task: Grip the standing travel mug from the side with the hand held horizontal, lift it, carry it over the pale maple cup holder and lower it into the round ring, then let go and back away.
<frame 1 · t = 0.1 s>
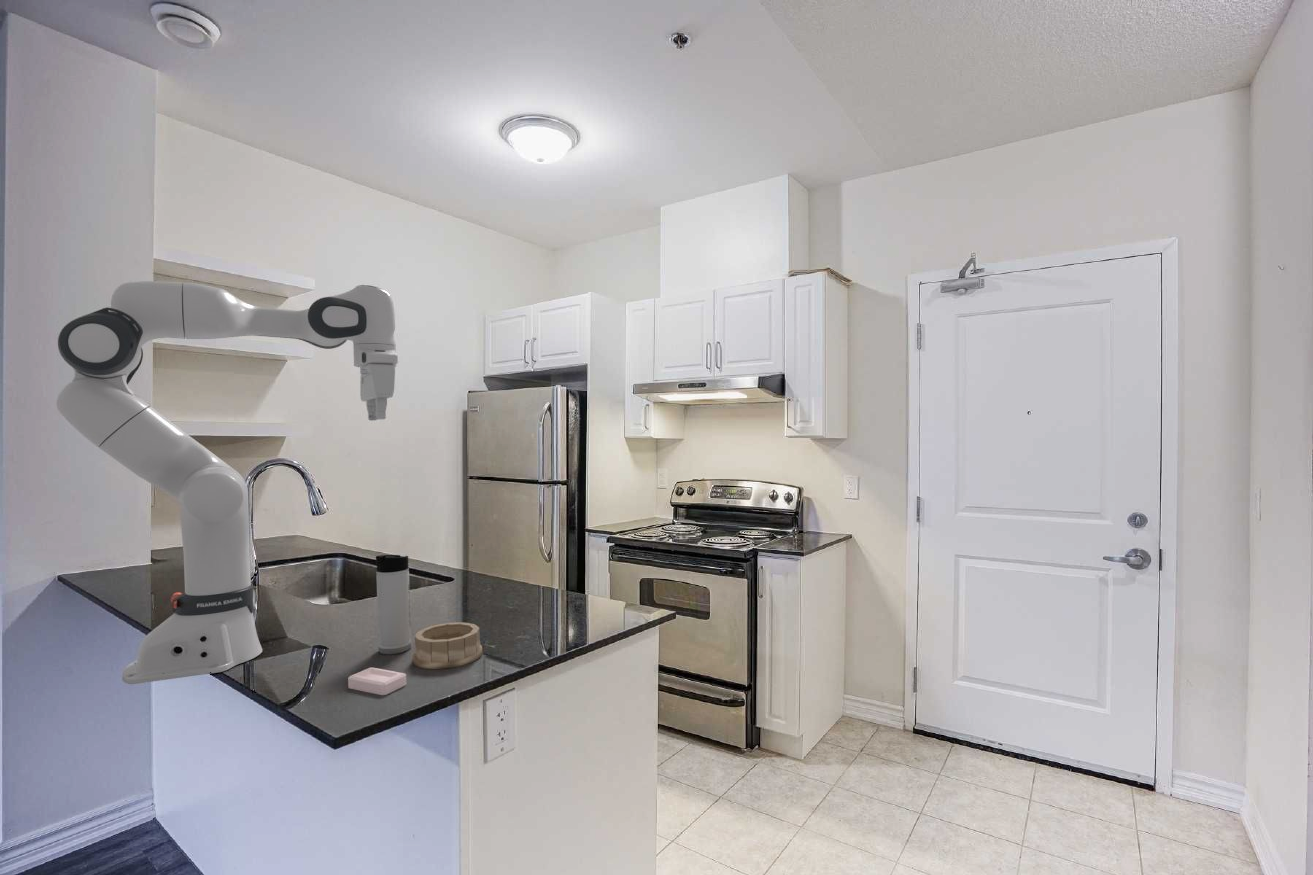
hand: (376, 420, 147), 48 cm above the countertop, tool pointing down, fingers open, 8 cm apart
cup holder: (448, 656, 129), on the countertop
travel mug: (394, 650, 134), on the countertop
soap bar: (377, 688, 115), on the countertop
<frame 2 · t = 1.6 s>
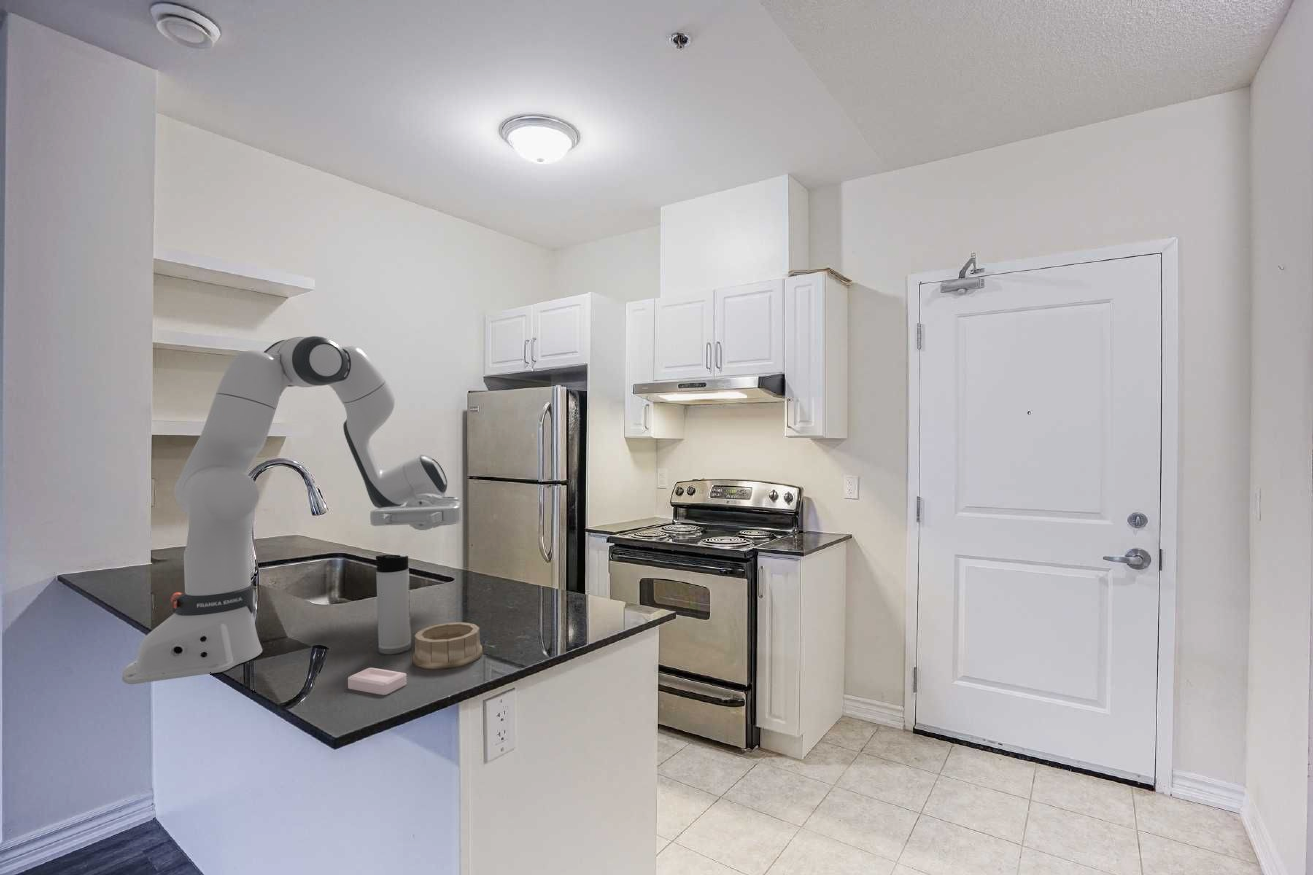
hand: (407, 520, 145), 25 cm above the countertop, tool horizontal, fingers open, 8 cm apart
nothing on the countertop moved.
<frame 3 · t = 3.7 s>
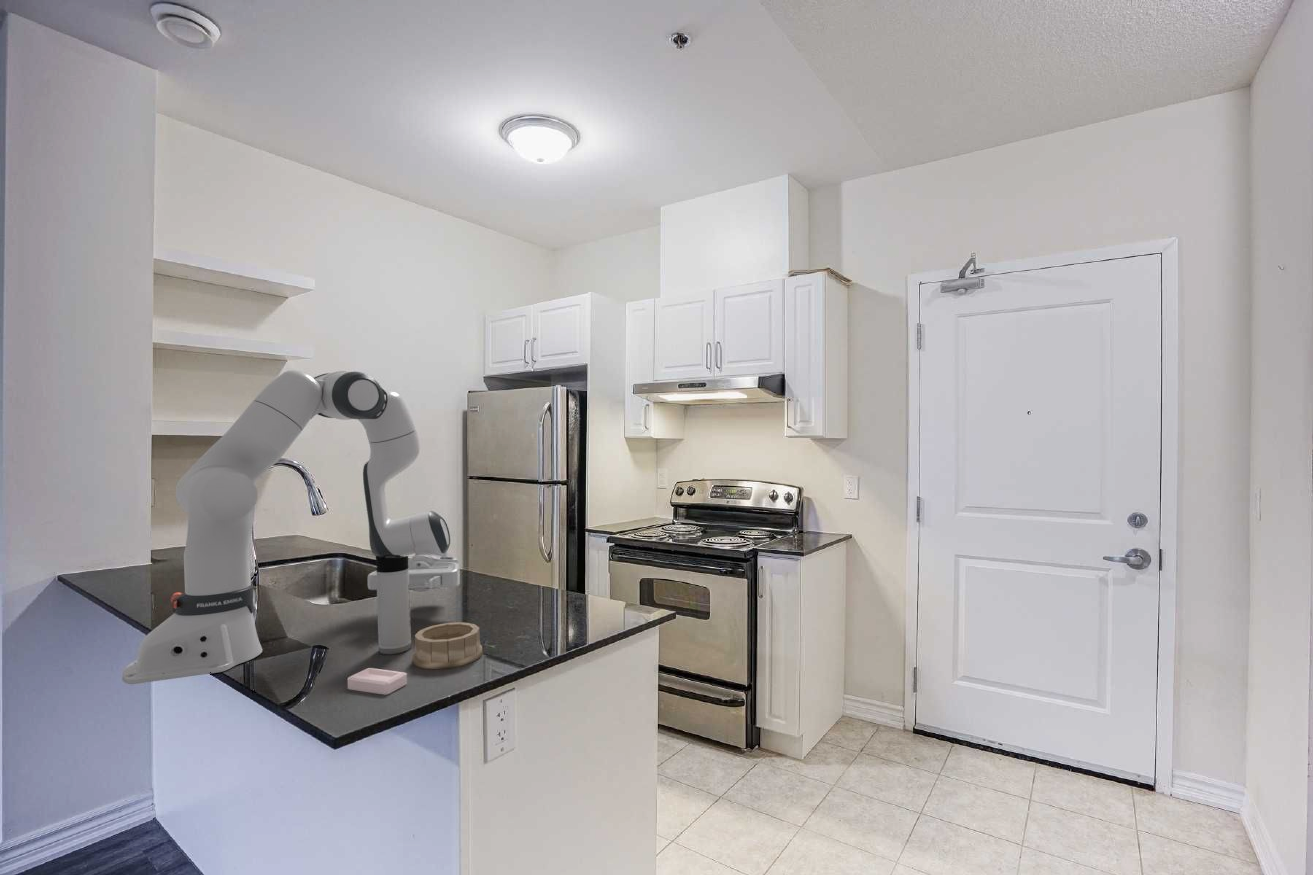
hand: (405, 585, 143), 11 cm above the countertop, tool horizontal, fingers open, 8 cm apart
nothing on the countertop moved.
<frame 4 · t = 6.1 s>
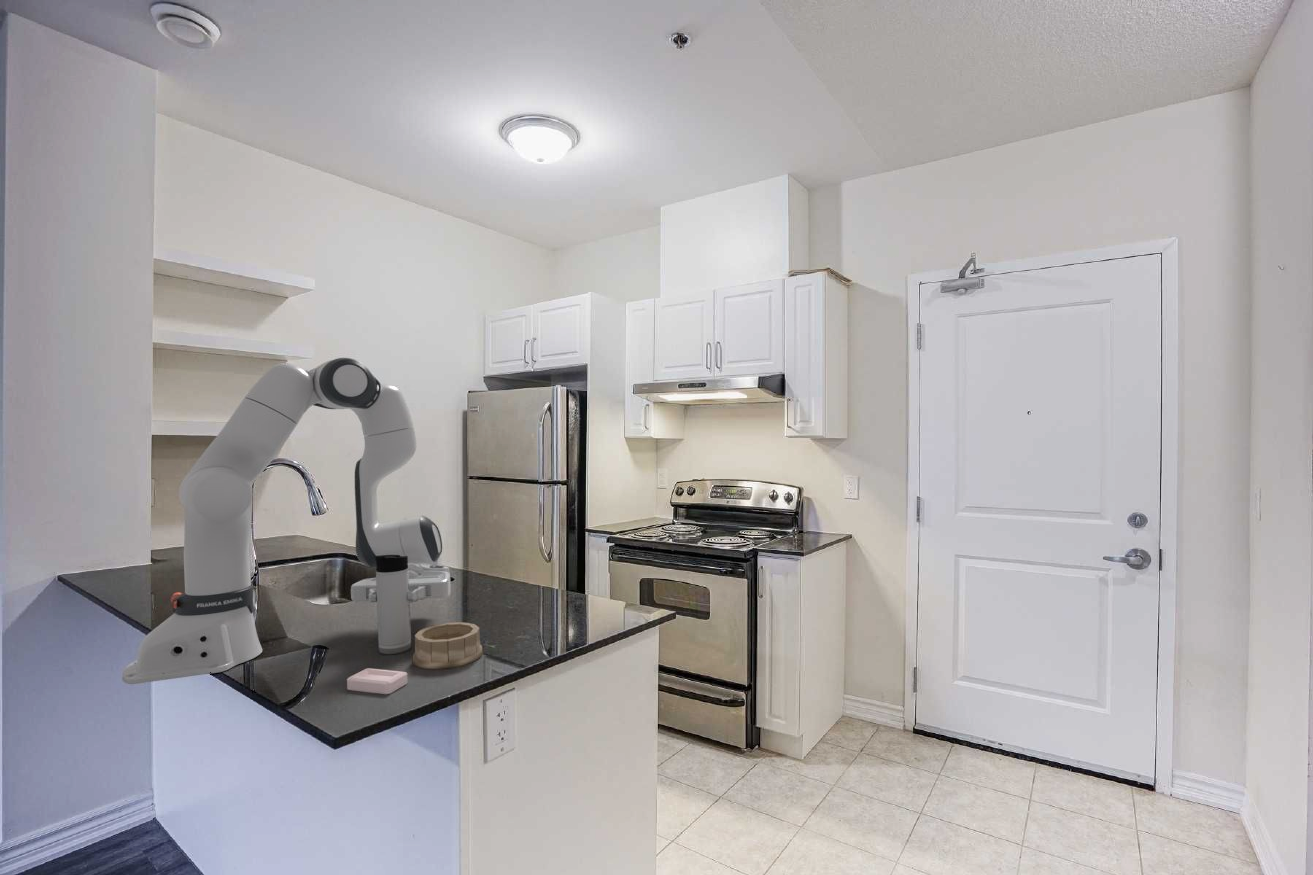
hand: (391, 597, 133), 11 cm above the countertop, tool horizontal, fingers closed on travel mug, 6 cm apart
travel mug: (394, 650, 134), on the countertop, touching gripper
everything else where it was.
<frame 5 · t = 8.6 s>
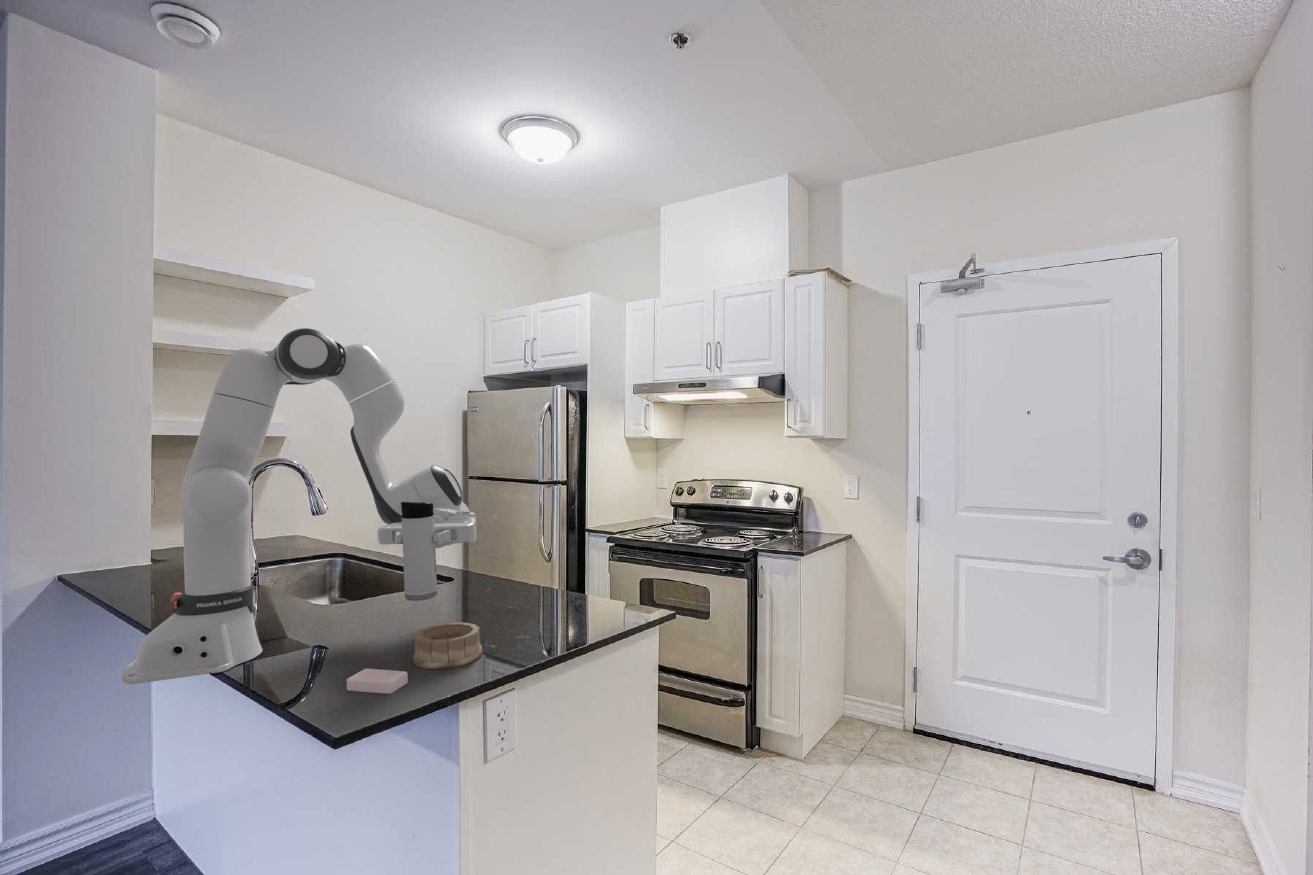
hand: (417, 539, 132), 23 cm above the countertop, tool horizontal, fingers closed on travel mug, 6 cm apart
travel mug: (420, 597, 133), point 11 cm above the countertop, touching gripper
everything else where it was.
when the fingers open (14 cm above the countertop, at t = 11.5 s): travel mug stays where it is, resting on cup holder.
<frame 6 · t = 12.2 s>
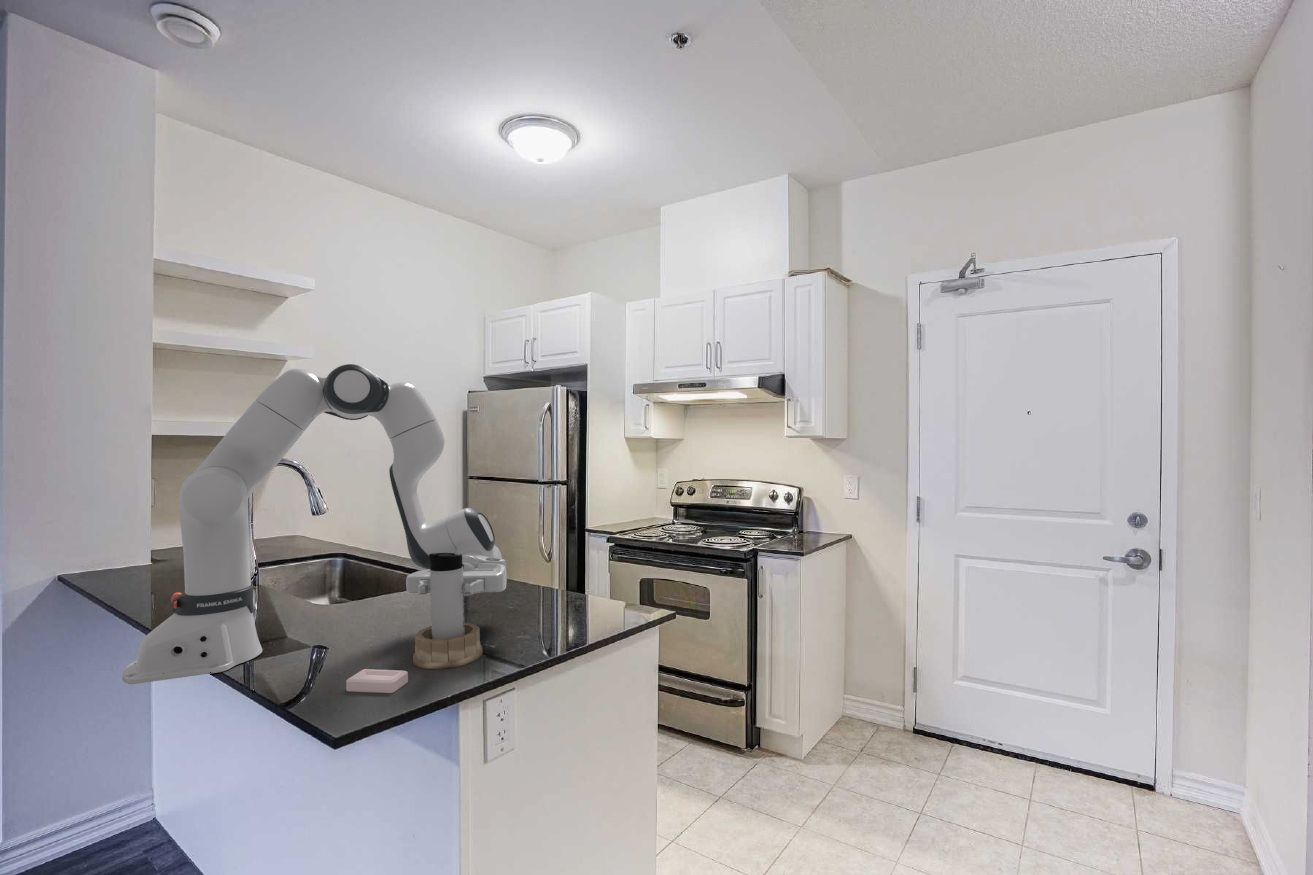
hand: (444, 590, 128), 14 cm above the countertop, tool horizontal, fingers open, 8 cm apart
travel mug: (448, 652, 129), point 1 cm above the countertop, touching cup holder
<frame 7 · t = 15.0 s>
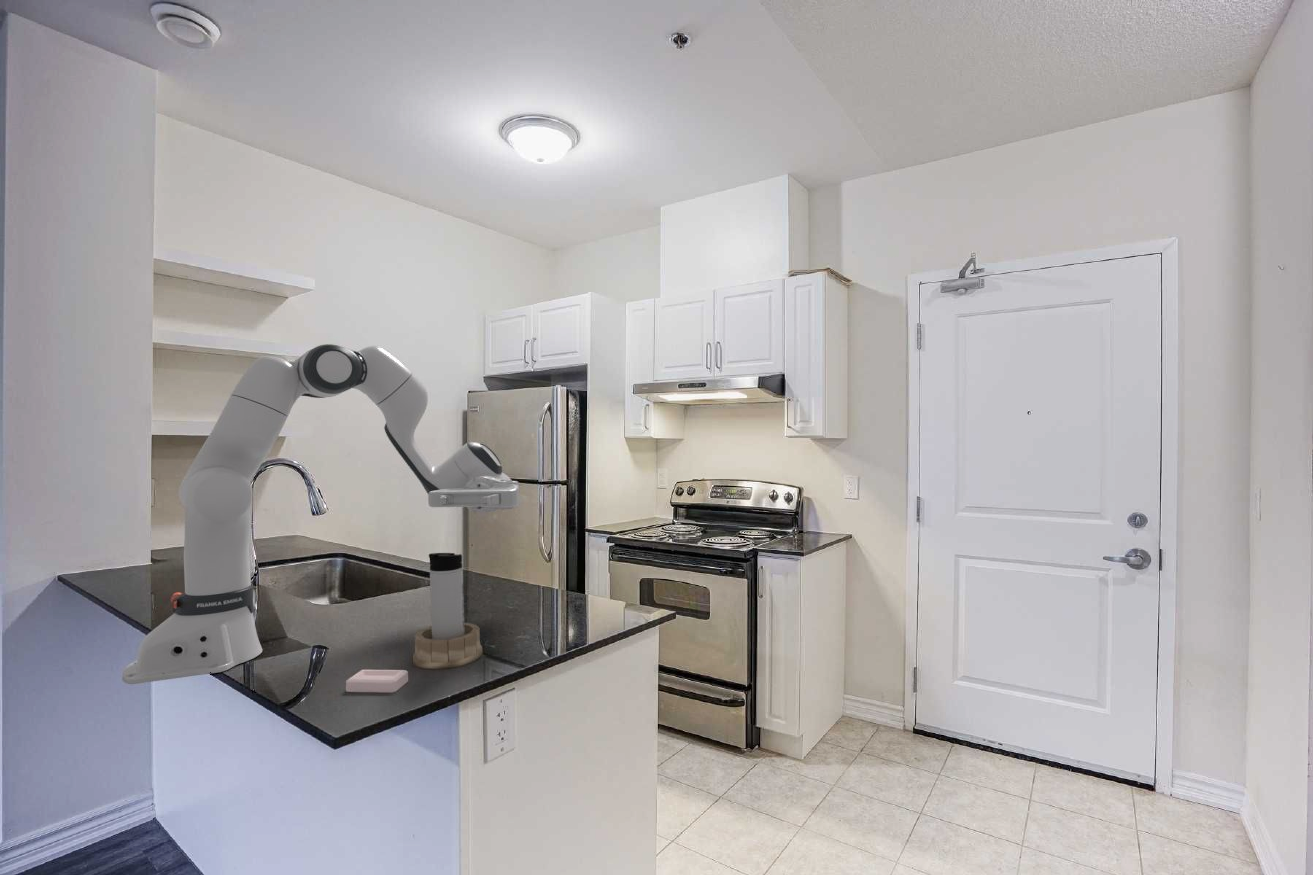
hand: (464, 501, 141), 30 cm above the countertop, tool horizontal, fingers open, 8 cm apart
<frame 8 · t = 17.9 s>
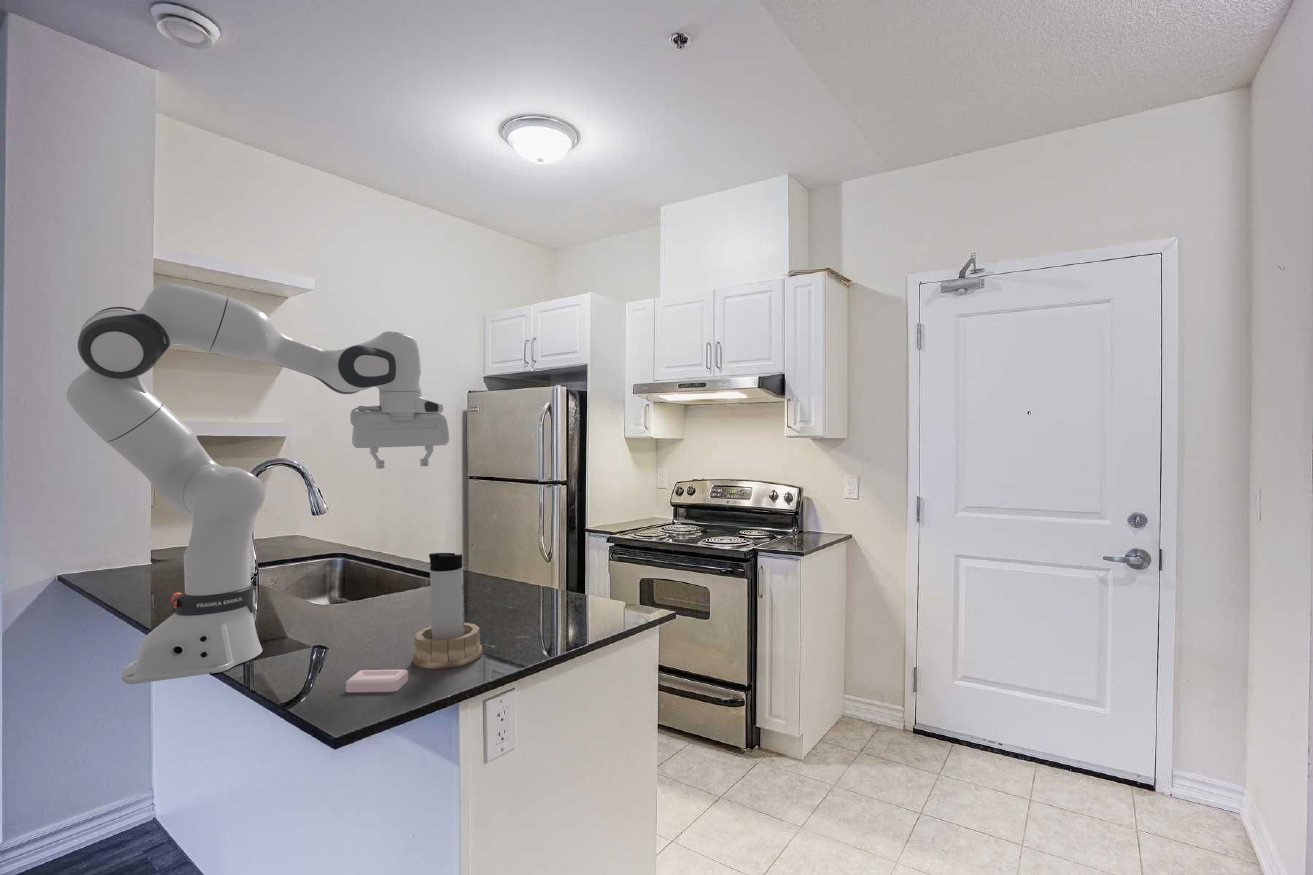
hand: (402, 467, 145), 37 cm above the countertop, tool pointing down, fingers open, 8 cm apart
at the end: travel mug 0.2 cm off-centre on the cup holder, point 0.8 cm above the cup holder's base; travel mug tilted 0°; the gripper is holding nothing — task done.
